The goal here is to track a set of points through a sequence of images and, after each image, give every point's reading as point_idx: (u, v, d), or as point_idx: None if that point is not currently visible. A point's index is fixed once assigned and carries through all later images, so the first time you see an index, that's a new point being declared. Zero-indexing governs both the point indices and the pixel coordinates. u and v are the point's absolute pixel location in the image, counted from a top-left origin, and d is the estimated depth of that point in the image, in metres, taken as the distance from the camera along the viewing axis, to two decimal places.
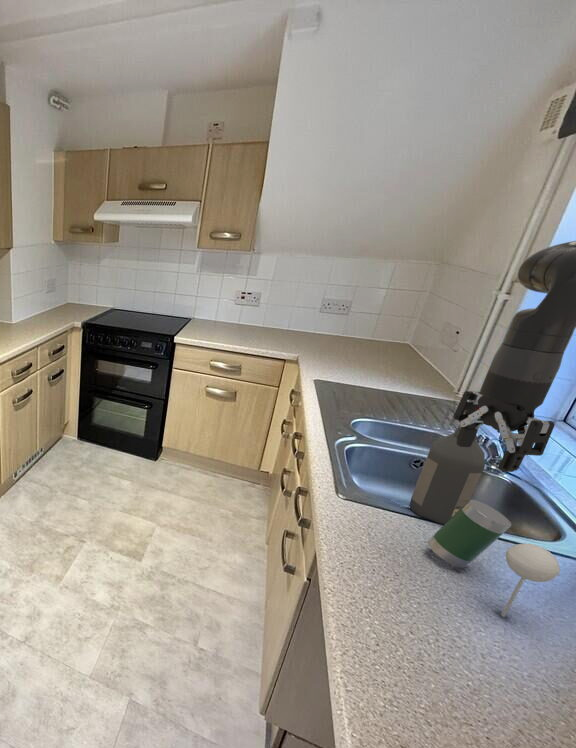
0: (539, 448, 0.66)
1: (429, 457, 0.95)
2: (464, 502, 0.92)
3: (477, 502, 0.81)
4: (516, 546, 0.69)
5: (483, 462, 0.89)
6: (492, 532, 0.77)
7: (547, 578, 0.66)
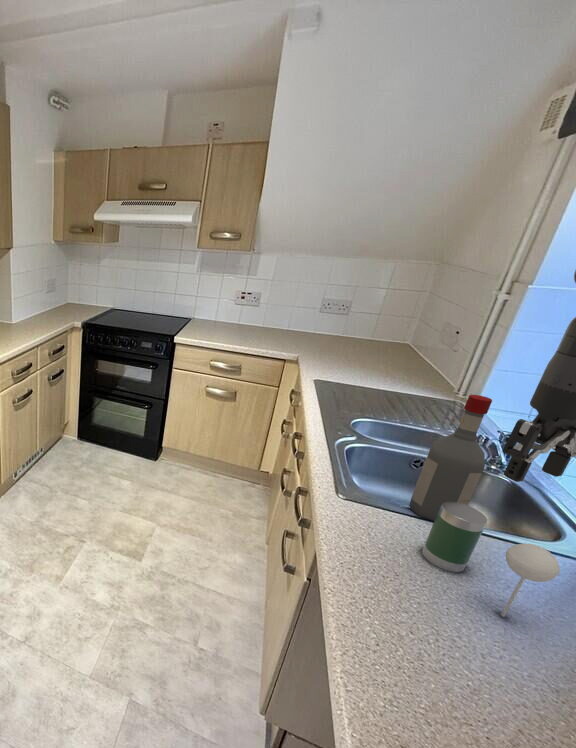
0: (521, 451, 0.64)
1: (429, 457, 0.95)
2: (464, 502, 0.92)
3: (451, 503, 0.83)
4: (516, 546, 0.69)
5: (483, 462, 0.89)
6: (470, 531, 0.78)
7: (547, 578, 0.66)
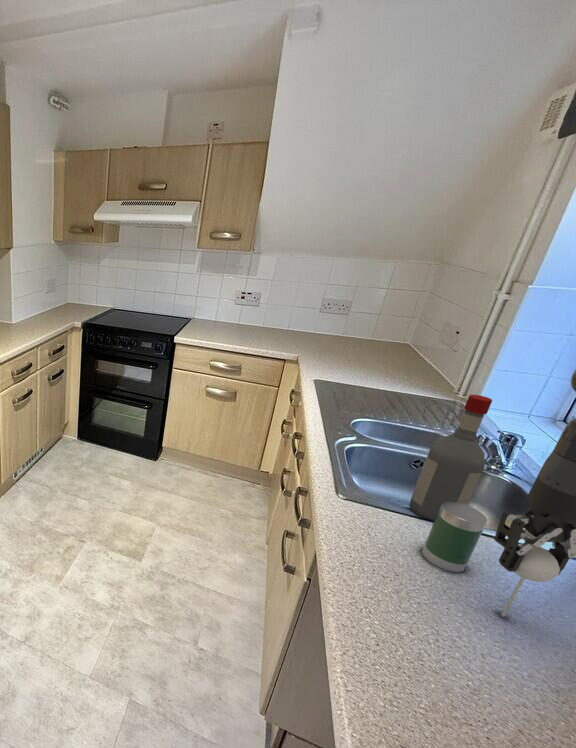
0: (508, 543, 0.66)
1: (429, 457, 0.95)
2: (464, 502, 0.92)
3: (451, 503, 0.83)
4: None
5: (483, 462, 0.89)
6: (470, 531, 0.78)
7: (547, 578, 0.66)
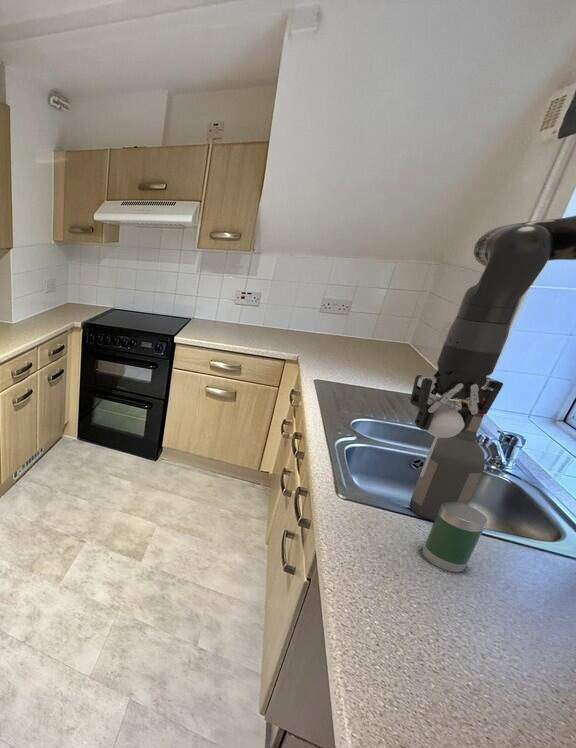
0: (420, 402, 0.76)
1: None
2: (464, 502, 0.92)
3: (451, 503, 0.83)
4: None
5: (483, 462, 0.89)
6: (470, 531, 0.78)
7: (453, 431, 0.76)
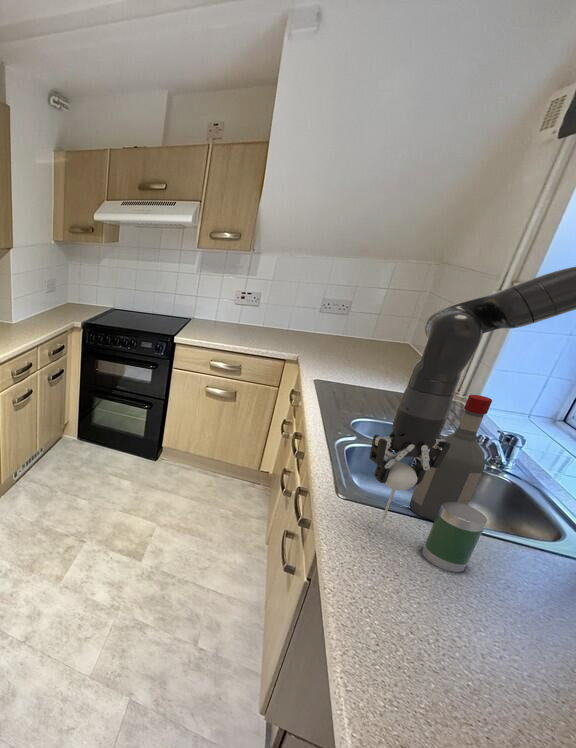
0: None
1: None
2: (464, 502, 0.92)
3: (451, 503, 0.83)
4: None
5: (483, 462, 0.89)
6: (470, 531, 0.78)
7: (407, 485, 0.85)
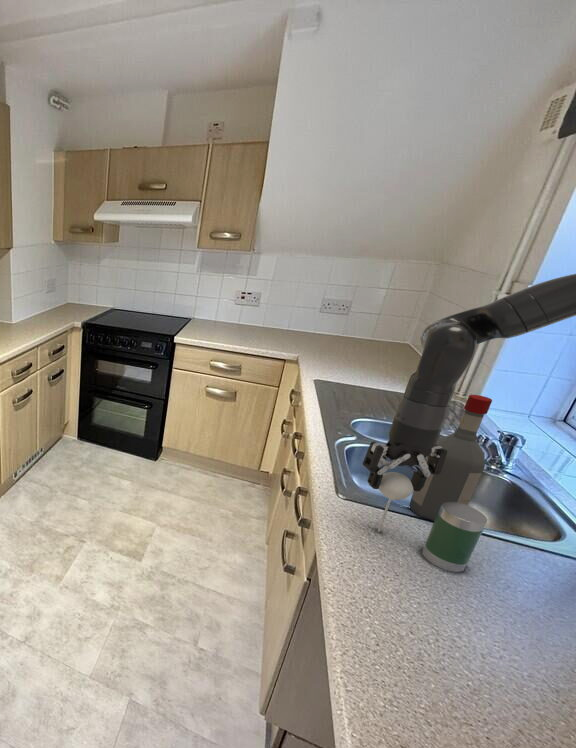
0: (371, 465, 0.86)
1: None
2: (464, 502, 0.92)
3: (451, 503, 0.83)
4: (384, 474, 0.89)
5: (483, 462, 0.89)
6: (470, 531, 0.78)
7: (402, 495, 0.86)
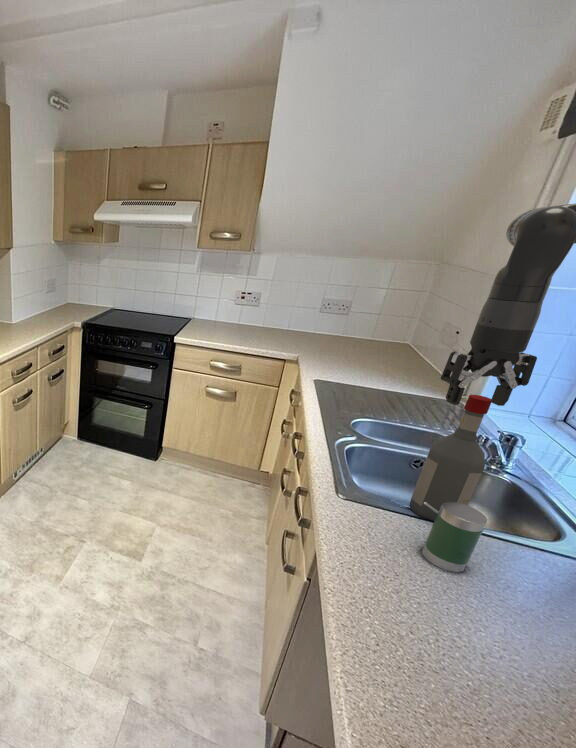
0: (451, 377, 0.80)
1: (429, 457, 0.95)
2: (464, 502, 0.92)
3: (451, 503, 0.83)
4: None
5: (483, 462, 0.89)
6: (470, 531, 0.78)
7: None
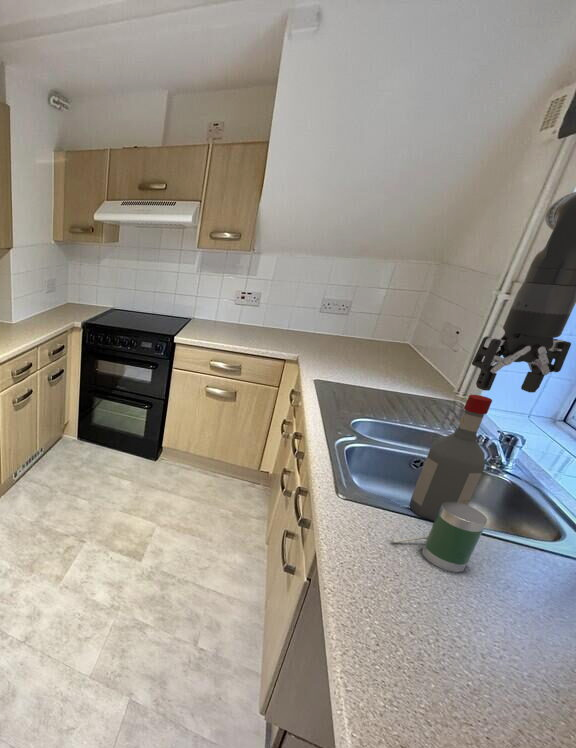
0: (484, 362, 0.79)
1: (429, 457, 0.95)
2: (464, 502, 0.92)
3: (451, 503, 0.83)
4: None
5: (483, 462, 0.89)
6: (470, 531, 0.78)
7: None
